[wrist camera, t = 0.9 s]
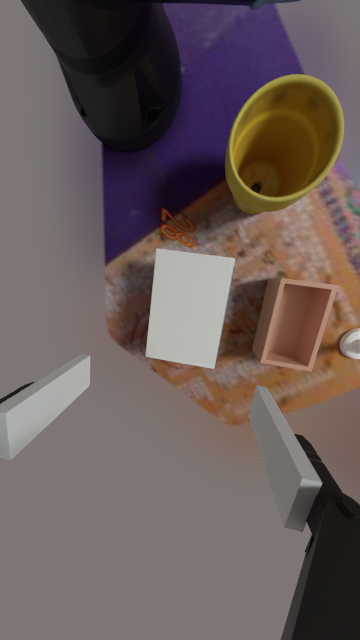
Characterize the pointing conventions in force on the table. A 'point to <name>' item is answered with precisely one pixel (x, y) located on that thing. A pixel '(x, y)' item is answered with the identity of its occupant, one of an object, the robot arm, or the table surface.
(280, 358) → the open box
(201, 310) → the board
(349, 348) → the chess piece
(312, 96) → the plant pot
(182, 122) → the table surface
